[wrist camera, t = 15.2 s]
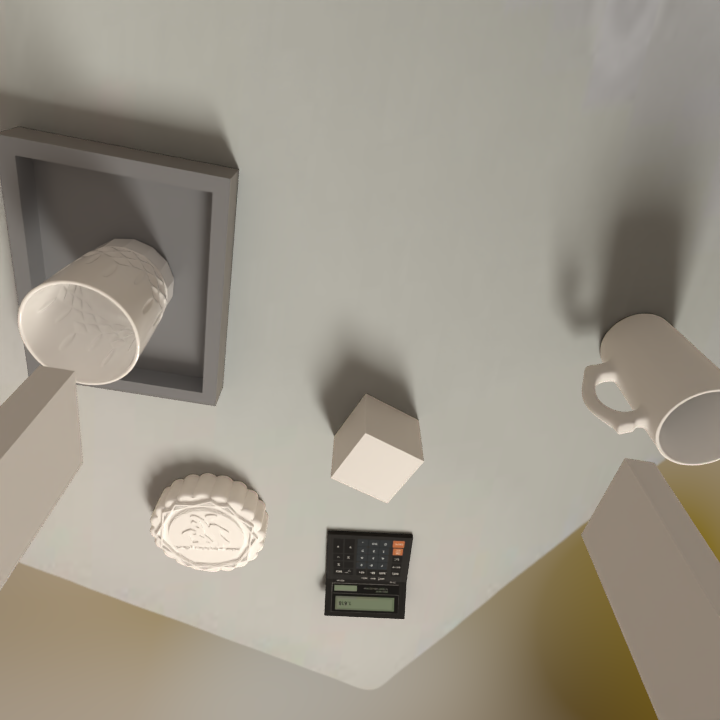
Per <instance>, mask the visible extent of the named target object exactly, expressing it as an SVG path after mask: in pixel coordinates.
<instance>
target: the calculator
mask: <svg viewBox="0 0 720 720" xmlns="http://www.w3.org/2000/svg"><path fill="white" fill-rule="evenodd" d="M412 541H413V534H391V533H370V532H348V531H328V545H327V574H326V594H325V613H324V615H327V616H349V617H371V618H392V619H404V616H405V598H406V581H407V575H408V568H409V561H410V555H411V548H412Z"/></svg>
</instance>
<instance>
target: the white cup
mask: <svg viewBox="0 0 720 720" xmlns="http://www.w3.org/2000/svg"><path fill="white" fill-rule="evenodd" d="M173 287H174V277H173V275H172V272H171V270H170V267H169V265H168V262H167V261H166V260H165V259H164V258H163V257H162V256H161V255H160V254H159V253H158V252H157V251H156V250H155V249H154V248H153V247H151V246H149V245H147V244H144V243H142V242H140V241H138V240H135V239H113V240H111V241H109V242H107V243H105V244H103V245H101V246H99V247H97V248H96V249H95V250H93V251H90V252H88V253H86V254H85V255H83V256H82V257H80V258H78V259H77V260H75V261H74V262H72V263H70V264H69V265H67V266H66V267H64V268H63V269H61V270H60V271H58V272H57V273H55V274H54V275H53V276H51V277H50V278H48V279H47V280H45V281H44V282H42V283H41V284H39V285H38V286H36V287H35V288H33V289H32V290H31V291H30V292H29V293H28V294H27V295H26V296H25V297H24V299H23V300H22V302H21V304H20V307H19V311H18V328H19V332H20V335H21V338H22V340H23V342H24V344H25V346H26V347H27V349H28V350H29V352H30V353H31V354H32V356H33V357H34V358H35V359H36V360H37V361H38V362H39V363H40V364H41V365H43V366H46V367H53V368H59V369H65V370H72V371H75V378H76V383H80V384H86V385H102V384H108V383H112V382H115V381H117V380H119V379H121V378H123V377H124V376H126V375H127V374H128V373H129V372H130V371H131V370H132V369H133V367H134V366H135V364H136V362H137V361H138V359H139V357H140V355H141V354H142V352H143V350H144V349H145V347H146V345H147V344H148V342H149V340H150V338H151V337H152V335H153V333H154V331H155V329H156V327H157V326H158V324H159V322H160V320H161V318H162V316H163V314H164V311H165V308H166V306H167V305H168V303H169V301H170V300H171V298H172V296H173Z"/></svg>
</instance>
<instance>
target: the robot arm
mask: <svg viewBox="0 0 720 720" xmlns="http://www.w3.org/2000/svg"><path fill="white" fill-rule="evenodd" d="M82 464H83V456H82V445H81V434H80V423H79V412H78V401H77V390H76V378H75V371H72V370H65V369H59V368H53V367H46V366H39V367H38V368H37V369H36V370H35V371H34V372H33V373H32V374H31V375H30V376H29V377H28V378H27V379H26V380H25V381H24V382H23V383H22V384H21V385H20V386H19V387H18V389H17V390H16V391H15V392H14V393H13V394H12V395H11V396H10V397H9V398H8V399H7V400H6V401H5V402H4V403H3V404H2V405H1V406H0V590H1V588H2V587H3V586H4V584H5V583H6V581H7V579H8V578H9V576H10V575H11V573H12V572H13V570H14V568H15V567H16V565H17V564H18V562H19V561H20V559H21V558H22V556H23V555H24V553H25V552H26V550H27V549H28V547H29V545H30V544H31V542H32V541H33V539H34V538H35V536H36V535H37V533H38V532H39V530H40V528H41V527H42V525H43V524H44V522H45V521H46V519H47V518H48V516H49V515H50V513H51V511H52V510H53V508H54V507H55V505H56V504H57V502H58V501H59V499H60V498H61V496H62V494H63V493H64V491H65V490H66V488H67V487H68V485H69V484H70V482H71V481H72V479H73V477H74V476H75V474H76V473H77V471H78V470H79V468H80V467H81V465H82ZM581 535H582V537H583V540H584V542H585V545H586V547H587V549H588V552H589V554H590V557H591V559H592V561H593V564H594V566H595V569H596V571H597V573H598V576H599V578H600V581H601V583H602V585H603V588H604V590H605V593H606V595H607V597H608V600H609V602H610V604H611V607H612V609H613V612H614V614H615V616H616V619H617V621H618V624H619V626H620V628H621V631H622V633H623V636H624V638H625V640H626V642H627V645H628V647H629V650H630V652H631V655H632V657H633V659H634V662H635V664H636V667H637V669H638V671H639V674H640V676H641V678H642V681H643V683H644V686H645V688H646V690H647V693H648V695H649V698H650V700H651V702H652V705H653V707H654V710H655V712H656V714H657V717H658V719H659V720H720V563H719V561H718V560H717V558H716V557H715V555H714V554H713V552H712V551H711V549H710V548H709V546H708V545H707V543H706V541H705V540H704V538H703V537H702V535H701V534H700V532H699V531H698V529H697V528H696V526H695V525H694V523H693V521H692V520H691V518H690V517H689V515H688V514H687V512H686V511H685V509H684V508H683V506H682V505H681V503H680V502H679V500H678V498H677V497H676V495H675V494H674V492H673V491H672V489H671V488H670V486H669V485H668V483H667V482H666V480H665V479H664V477H663V476H662V474H661V472H660V471H659V469H658V468H657V466H656V465H655V463H652V462H646V461H640V460H634V459H627V458H625V459H624V461H623V462H622V464H621V466H620V468H619V469H618V471H617V473H616V475H615V476H614V478H613V480H612V482H611V483H610V485H609V487H608V489H607V490H606V492H605V494H604V496H603V498H602V499H601V501H600V503H599V505H598V506H597V508H596V510H595V512H594V513H593V515H592V517H591V519H590V520H589V522H588V524H587V526H586V528H585V529H584V531H583V533H582V534H581Z"/></svg>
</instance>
